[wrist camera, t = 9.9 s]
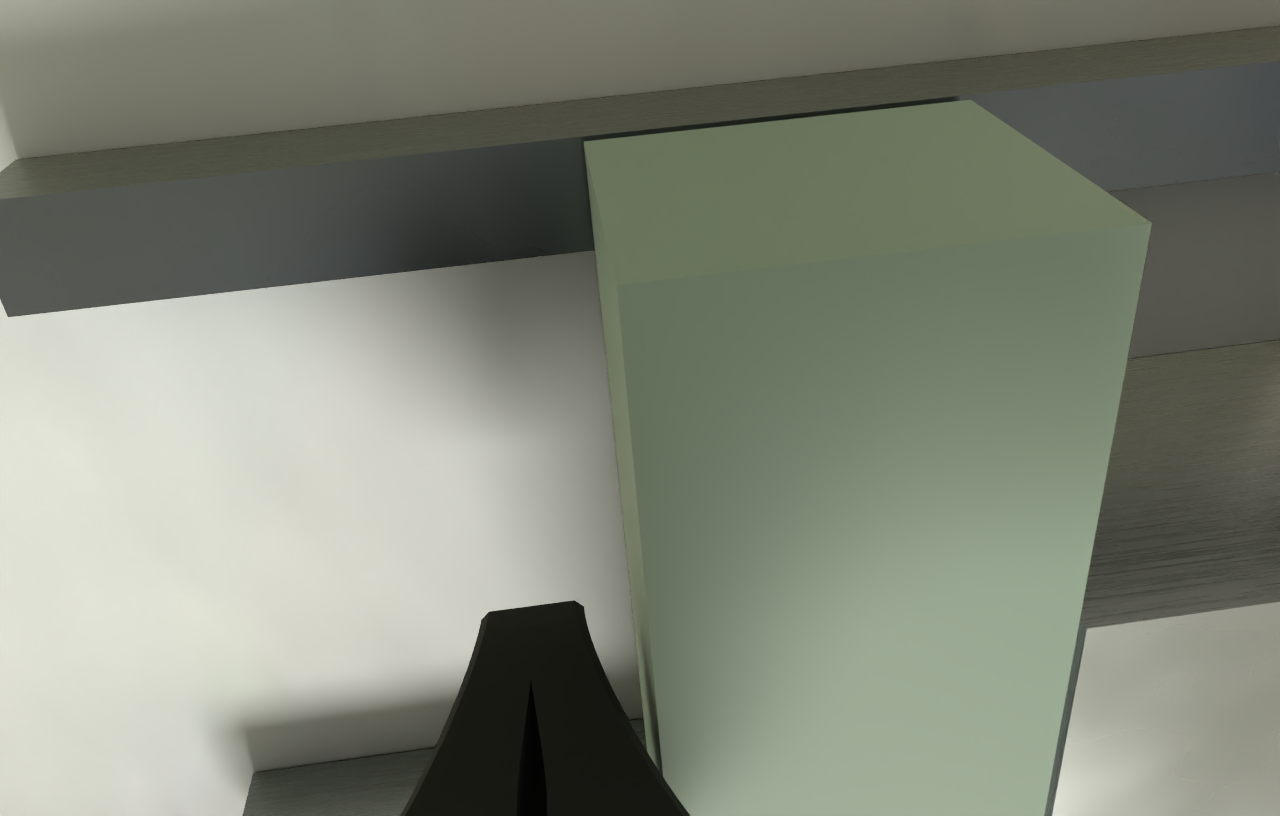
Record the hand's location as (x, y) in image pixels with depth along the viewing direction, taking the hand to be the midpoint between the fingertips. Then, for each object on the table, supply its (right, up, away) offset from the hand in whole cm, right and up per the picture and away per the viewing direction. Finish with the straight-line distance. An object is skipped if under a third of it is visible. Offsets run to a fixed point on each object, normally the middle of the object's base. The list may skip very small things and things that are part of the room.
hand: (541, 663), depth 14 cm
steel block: (+9, +2, +4) cm, 10 cm away
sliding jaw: (+3, +2, +3) cm, 5 cm away
